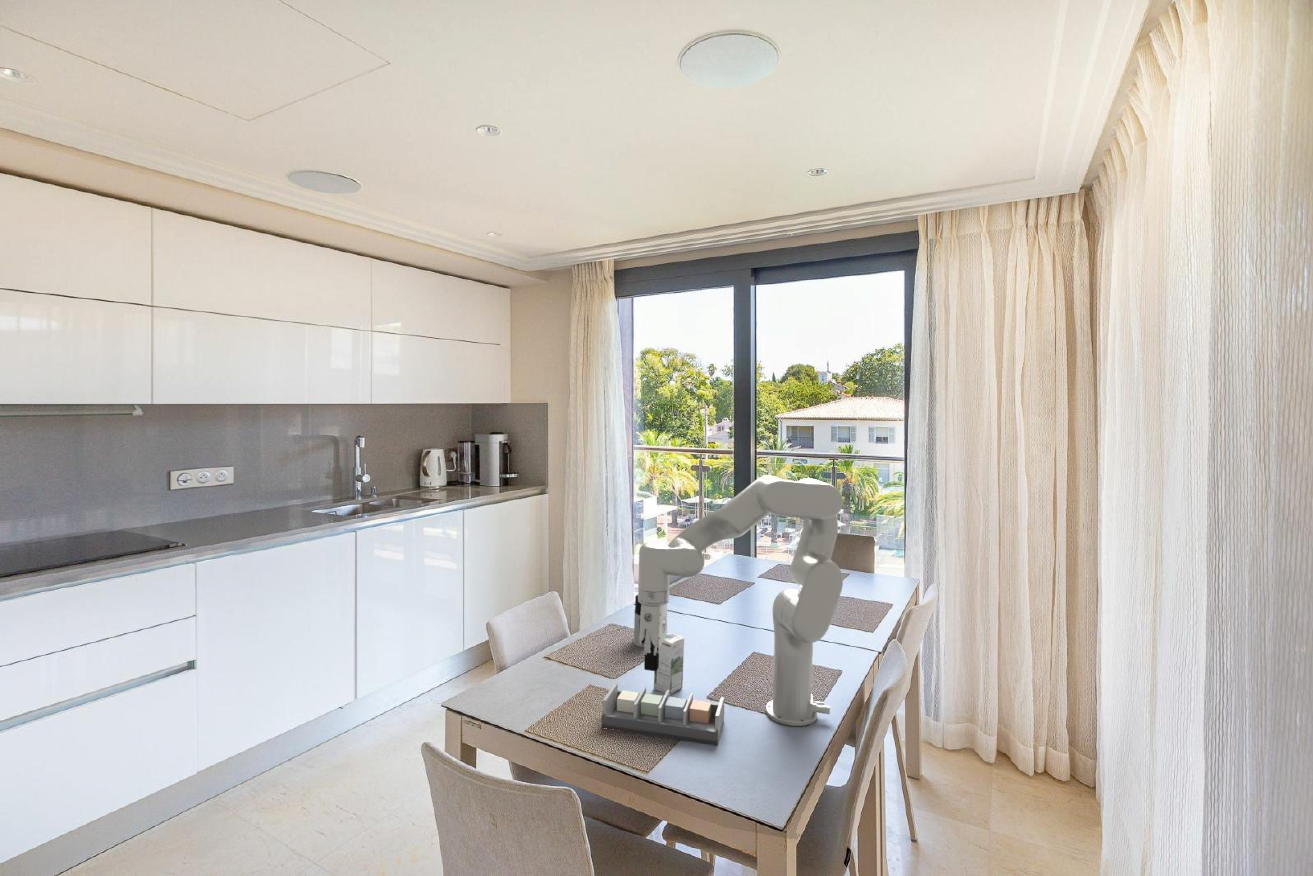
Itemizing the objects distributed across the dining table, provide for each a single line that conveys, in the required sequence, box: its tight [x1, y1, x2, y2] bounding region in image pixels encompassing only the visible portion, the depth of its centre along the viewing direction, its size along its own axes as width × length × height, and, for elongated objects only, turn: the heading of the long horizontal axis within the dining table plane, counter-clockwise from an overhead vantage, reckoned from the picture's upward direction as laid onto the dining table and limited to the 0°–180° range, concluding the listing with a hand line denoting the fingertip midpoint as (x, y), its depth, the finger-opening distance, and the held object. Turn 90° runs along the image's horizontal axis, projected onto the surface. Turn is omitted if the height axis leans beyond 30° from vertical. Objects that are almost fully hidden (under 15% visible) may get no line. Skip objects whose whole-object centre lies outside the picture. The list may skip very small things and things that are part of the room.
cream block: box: [617, 690, 640, 713], centre depth 153 cm, size 4×4×3 cm
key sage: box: [641, 693, 664, 716], centre depth 151 cm, size 4×4×3 cm
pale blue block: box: [665, 696, 688, 720], centre depth 150 cm, size 4×4×3 cm
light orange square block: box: [690, 699, 712, 723], centre depth 149 cm, size 4×4×3 cm
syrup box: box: [653, 632, 685, 696], centre depth 170 cm, size 6×6×14 cm
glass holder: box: [632, 594, 645, 648], centre depth 200 cm, size 9×14×15 cm, turn 174°
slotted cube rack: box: [600, 682, 725, 747], centre depth 151 cm, size 28×11×7 cm, turn 76°
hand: (651, 669), depth 151 cm, fingers closed
